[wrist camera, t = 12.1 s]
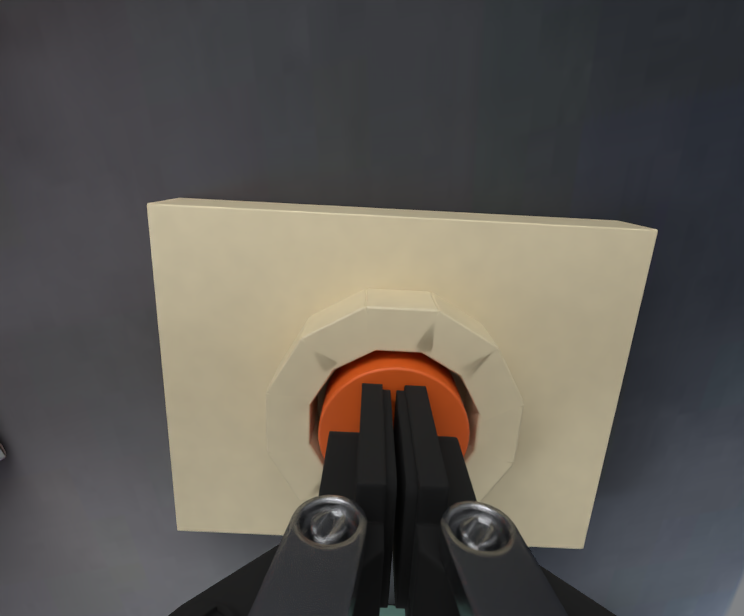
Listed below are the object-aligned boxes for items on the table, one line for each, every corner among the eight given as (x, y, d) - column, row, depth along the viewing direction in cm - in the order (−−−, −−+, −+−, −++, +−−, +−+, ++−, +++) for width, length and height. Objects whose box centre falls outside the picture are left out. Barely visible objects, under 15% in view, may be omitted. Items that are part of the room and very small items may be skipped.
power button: (465, 345, 13) (478, 372, 11) (451, 464, 14) (461, 504, 13) (326, 338, 13) (318, 363, 11) (323, 458, 14) (316, 497, 13)
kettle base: (618, 220, 15) (704, 240, 11) (559, 504, 18) (608, 596, 14) (179, 197, 15) (108, 209, 11) (200, 488, 18) (152, 576, 14)
